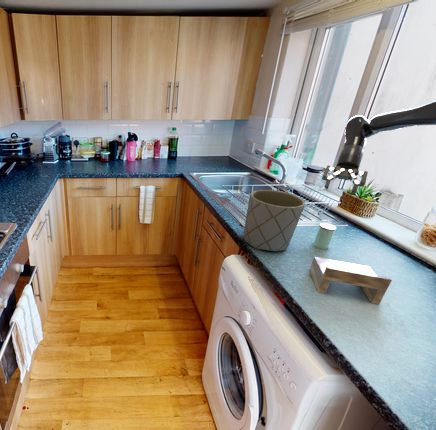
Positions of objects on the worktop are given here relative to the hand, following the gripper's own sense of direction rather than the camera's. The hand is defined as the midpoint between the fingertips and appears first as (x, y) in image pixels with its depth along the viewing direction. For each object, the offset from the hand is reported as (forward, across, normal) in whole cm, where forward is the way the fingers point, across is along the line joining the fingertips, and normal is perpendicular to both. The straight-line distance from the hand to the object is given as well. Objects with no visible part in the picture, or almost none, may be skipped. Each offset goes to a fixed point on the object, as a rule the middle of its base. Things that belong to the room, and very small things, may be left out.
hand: (339, 190), depth 117 cm
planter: (+32, -19, -2) cm, 37 cm away
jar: (+23, 0, +6) cm, 24 cm away
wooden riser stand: (+42, +8, -13) cm, 45 cm away
